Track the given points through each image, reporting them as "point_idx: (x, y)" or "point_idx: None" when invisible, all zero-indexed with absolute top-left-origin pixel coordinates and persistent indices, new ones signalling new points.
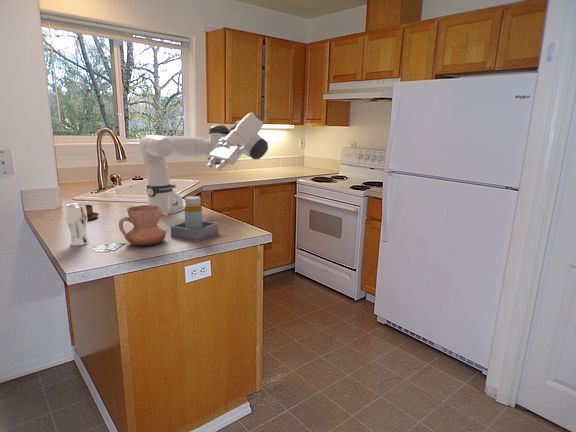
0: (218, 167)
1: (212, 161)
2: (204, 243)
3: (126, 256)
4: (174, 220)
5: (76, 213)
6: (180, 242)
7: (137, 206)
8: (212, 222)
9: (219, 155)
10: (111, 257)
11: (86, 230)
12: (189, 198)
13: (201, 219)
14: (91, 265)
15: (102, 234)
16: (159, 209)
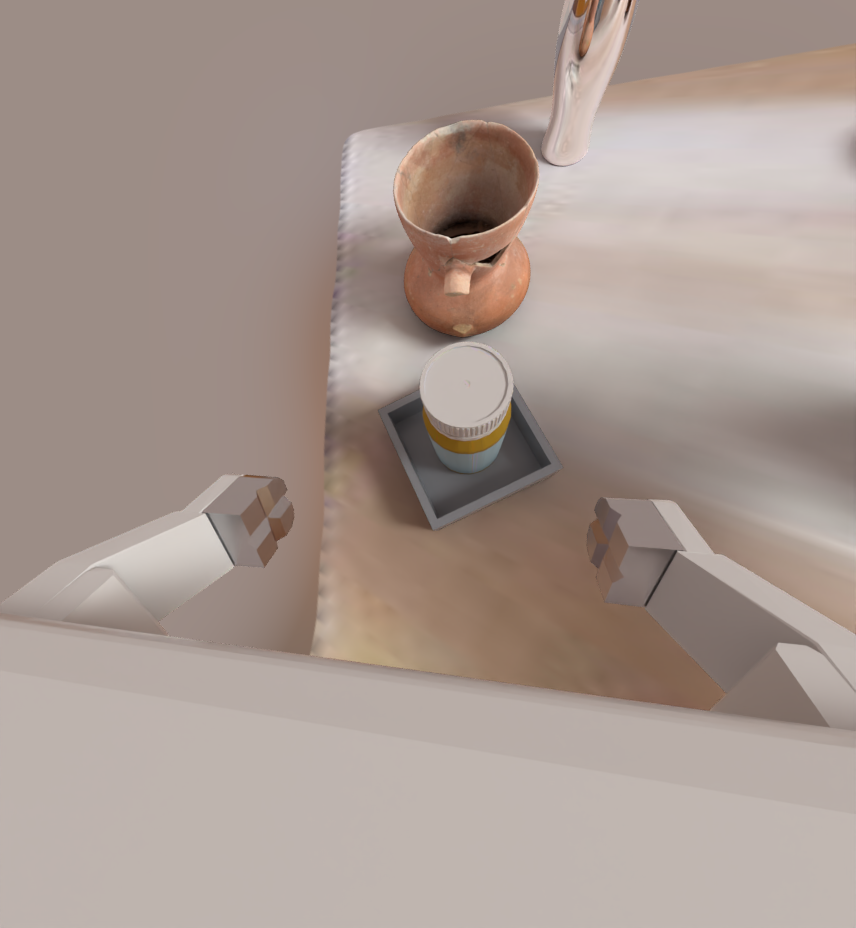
0: (212, 497)
1: (748, 654)
2: (359, 438)
3: (380, 233)
4: (745, 460)
5: (564, 2)
6: (413, 379)
7: (533, 165)
8: (458, 516)
9: (258, 751)
10: (394, 205)
11: (569, 117)
12: (457, 362)
13: (437, 451)
14: (366, 167)
15: (640, 200)
16: (411, 228)
